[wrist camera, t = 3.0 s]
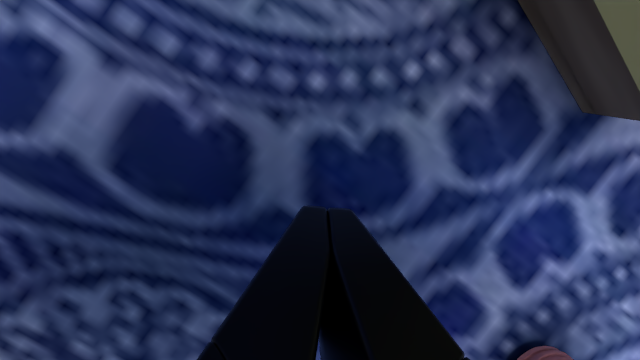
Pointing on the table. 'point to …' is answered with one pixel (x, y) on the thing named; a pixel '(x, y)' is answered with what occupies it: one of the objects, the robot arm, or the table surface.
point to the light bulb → (544, 354)
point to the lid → (624, 30)
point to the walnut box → (585, 56)
